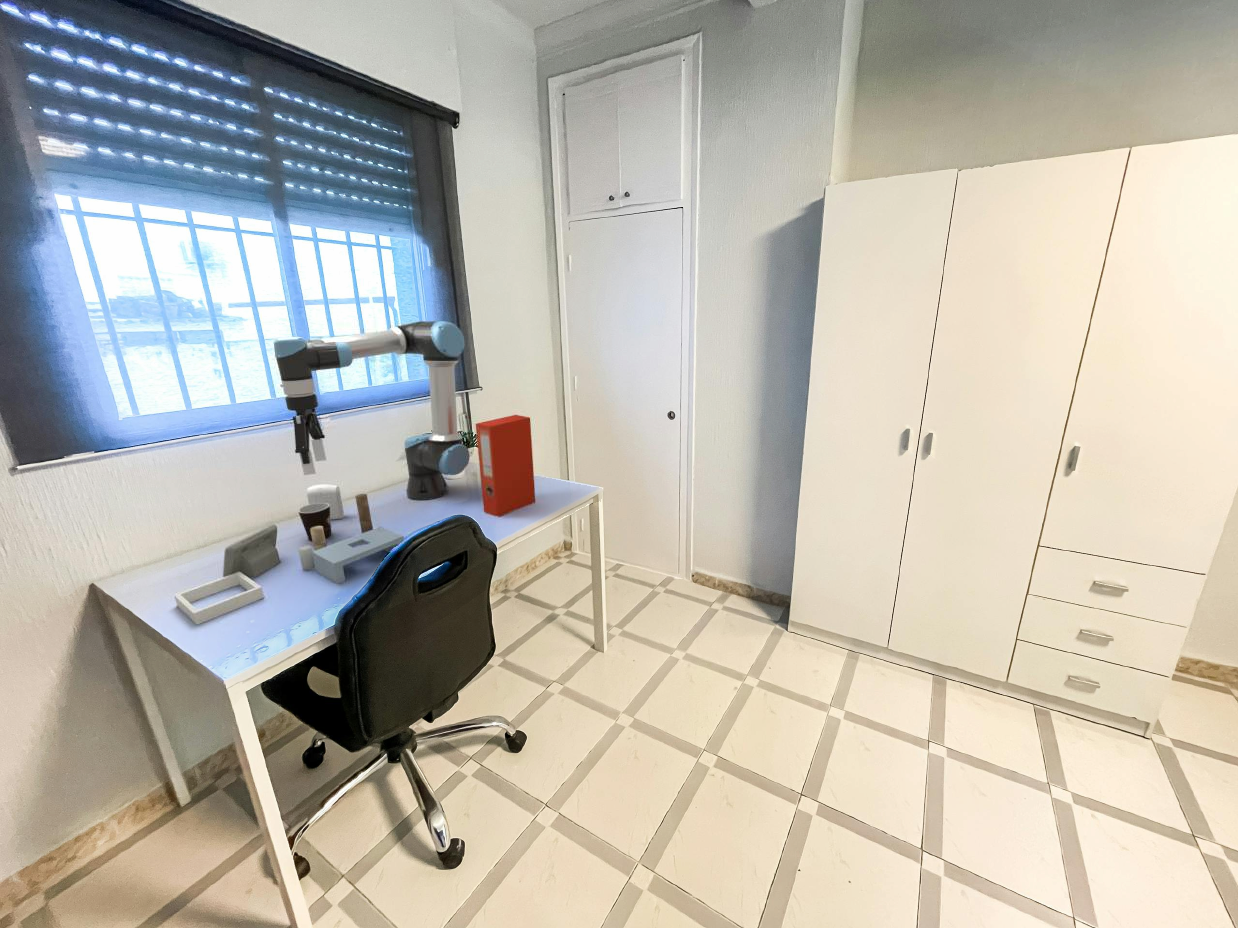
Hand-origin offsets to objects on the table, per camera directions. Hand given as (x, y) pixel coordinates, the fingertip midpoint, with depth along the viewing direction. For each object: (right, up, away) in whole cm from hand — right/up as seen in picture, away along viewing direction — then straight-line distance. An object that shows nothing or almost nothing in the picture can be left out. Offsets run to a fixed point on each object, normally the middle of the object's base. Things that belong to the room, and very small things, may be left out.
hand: (315, 467), depth 150 cm
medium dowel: (+1, -26, +2) cm, 26 cm away
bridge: (+15, -27, -3) cm, 31 cm away
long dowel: (+10, -23, +11) cm, 28 cm away
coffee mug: (-7, -22, +16) cm, 28 cm away
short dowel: (+1, -28, -5) cm, 29 cm away
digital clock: (-14, -29, -5) cm, 32 cm away
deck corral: (-11, -33, -21) cm, 41 cm away
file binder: (+49, -15, +36) cm, 63 cm away
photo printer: (-12, -18, +29) cm, 36 cm away
